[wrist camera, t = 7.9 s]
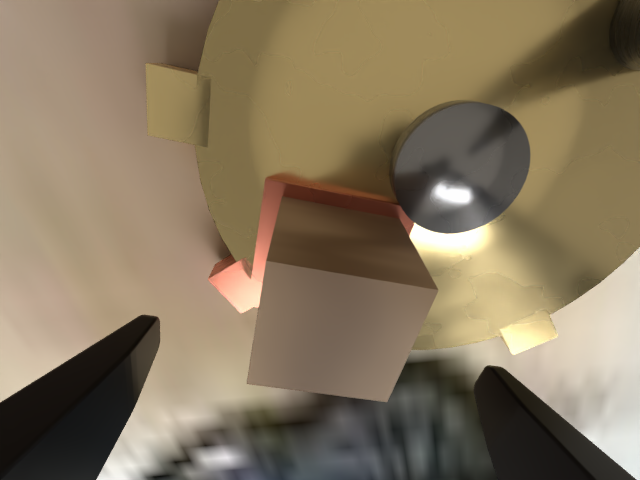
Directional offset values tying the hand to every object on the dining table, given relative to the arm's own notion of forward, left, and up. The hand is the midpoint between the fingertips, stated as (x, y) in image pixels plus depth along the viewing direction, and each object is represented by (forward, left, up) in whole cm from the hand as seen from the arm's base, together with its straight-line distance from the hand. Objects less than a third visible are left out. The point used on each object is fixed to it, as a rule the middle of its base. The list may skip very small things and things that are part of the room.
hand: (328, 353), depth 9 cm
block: (0, 0, -5) cm, 5 cm away
